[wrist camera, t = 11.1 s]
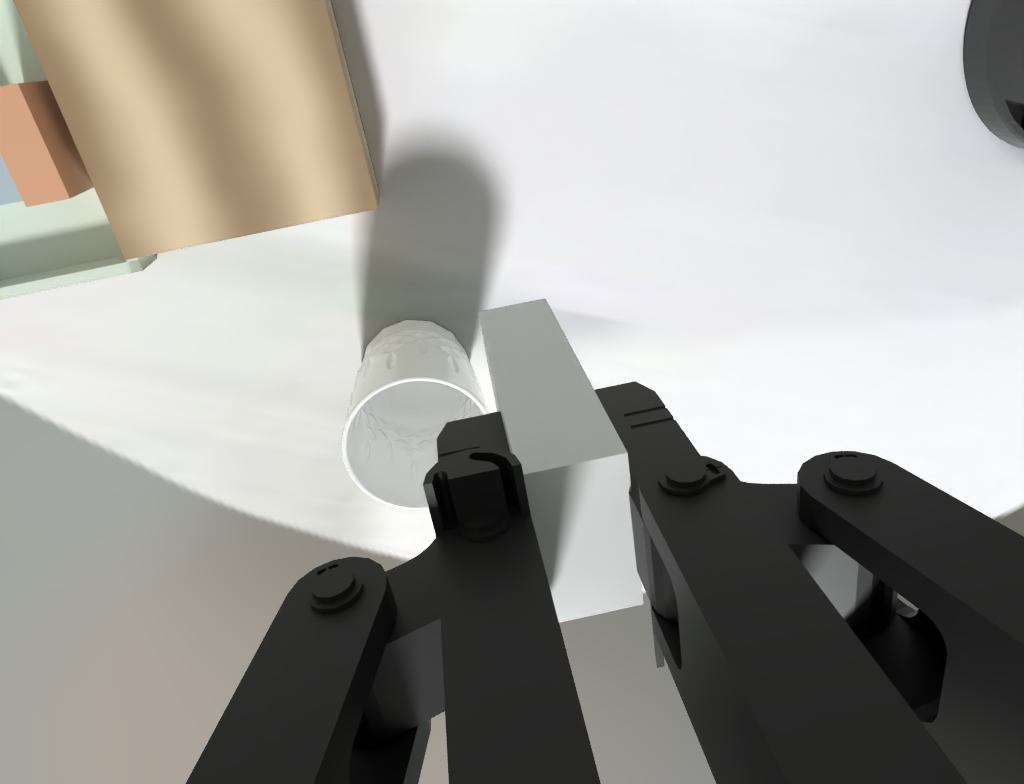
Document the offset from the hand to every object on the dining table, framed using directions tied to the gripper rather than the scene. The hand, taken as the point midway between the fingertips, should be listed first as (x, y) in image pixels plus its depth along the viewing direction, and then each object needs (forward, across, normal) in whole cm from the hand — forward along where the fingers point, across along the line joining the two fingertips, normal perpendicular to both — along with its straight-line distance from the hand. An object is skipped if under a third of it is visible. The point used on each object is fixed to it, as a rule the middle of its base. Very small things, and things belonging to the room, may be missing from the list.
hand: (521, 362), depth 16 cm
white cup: (+28, +5, +11) cm, 30 cm away
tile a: (+24, +18, -6) cm, 31 cm away
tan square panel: (+27, +11, -6) cm, 30 cm away
